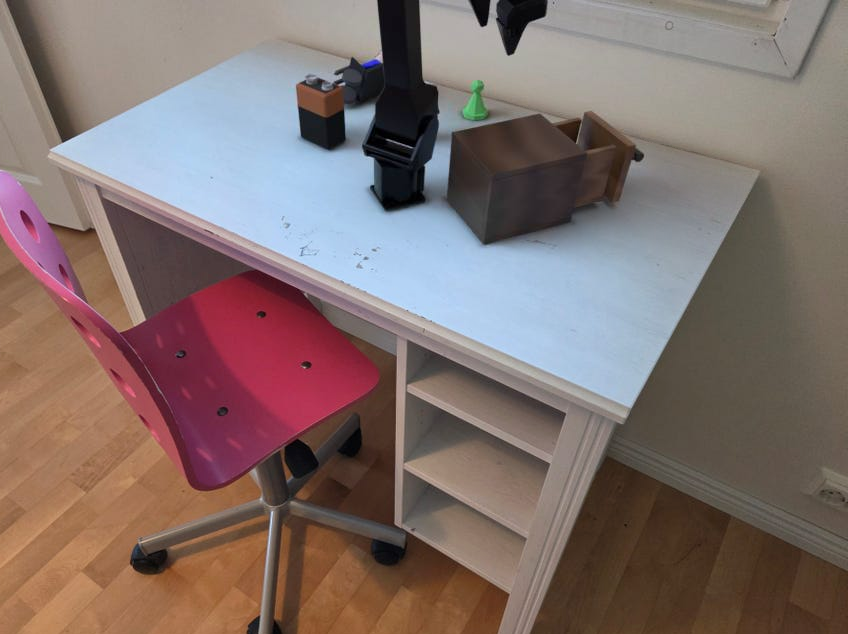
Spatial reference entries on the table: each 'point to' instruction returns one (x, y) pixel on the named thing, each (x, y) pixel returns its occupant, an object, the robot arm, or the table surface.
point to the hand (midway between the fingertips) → (496, 39)
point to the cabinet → (513, 177)
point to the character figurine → (362, 80)
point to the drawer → (600, 157)
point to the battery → (321, 111)
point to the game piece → (475, 103)
